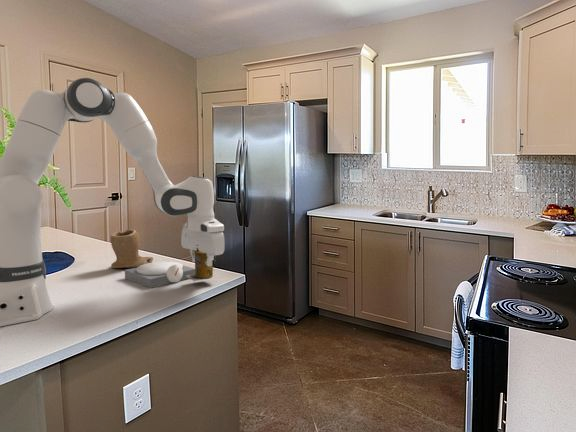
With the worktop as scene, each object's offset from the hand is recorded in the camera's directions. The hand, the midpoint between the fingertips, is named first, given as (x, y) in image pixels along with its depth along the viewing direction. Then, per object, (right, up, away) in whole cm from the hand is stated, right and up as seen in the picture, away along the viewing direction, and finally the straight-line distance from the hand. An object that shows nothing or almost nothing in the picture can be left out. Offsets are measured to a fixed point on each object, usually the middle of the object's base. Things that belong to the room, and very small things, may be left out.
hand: (202, 264), depth 150 cm
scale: (-17, -6, +9) cm, 20 cm away
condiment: (0, -5, +1) cm, 5 cm away
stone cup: (-33, -4, +24) cm, 41 cm away
